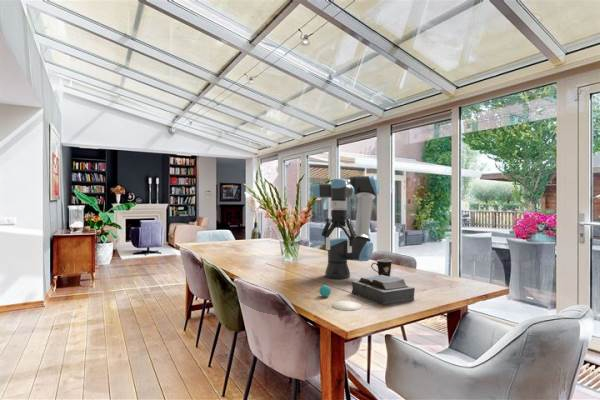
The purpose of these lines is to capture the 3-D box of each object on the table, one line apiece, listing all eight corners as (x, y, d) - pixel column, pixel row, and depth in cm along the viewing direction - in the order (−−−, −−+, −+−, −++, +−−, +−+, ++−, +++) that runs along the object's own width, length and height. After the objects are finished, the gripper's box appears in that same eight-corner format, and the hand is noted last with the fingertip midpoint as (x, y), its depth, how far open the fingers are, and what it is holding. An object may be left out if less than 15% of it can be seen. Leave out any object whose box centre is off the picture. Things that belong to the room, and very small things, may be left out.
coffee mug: (392, 276, 213) (392, 259, 213) (391, 279, 205) (391, 262, 205) (372, 274, 217) (372, 258, 217) (371, 277, 209) (371, 261, 209)
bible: (373, 307, 154) (373, 285, 153) (348, 291, 179) (348, 272, 179) (419, 303, 160) (419, 281, 160) (388, 288, 186) (388, 270, 186)
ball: (317, 295, 170) (317, 284, 170) (326, 294, 173) (326, 283, 173) (323, 298, 166) (323, 287, 166) (332, 297, 168) (332, 285, 168)
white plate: (326, 304, 157) (326, 303, 157) (349, 300, 164) (349, 299, 164) (343, 312, 146) (343, 312, 146) (367, 307, 152) (367, 307, 152)
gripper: (315, 209, 183) (315, 249, 183) (355, 210, 166) (355, 254, 166) (324, 208, 188) (324, 248, 188) (363, 209, 171) (363, 252, 171)
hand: (338, 251), depth 177 cm, fingers open, 13 cm apart
